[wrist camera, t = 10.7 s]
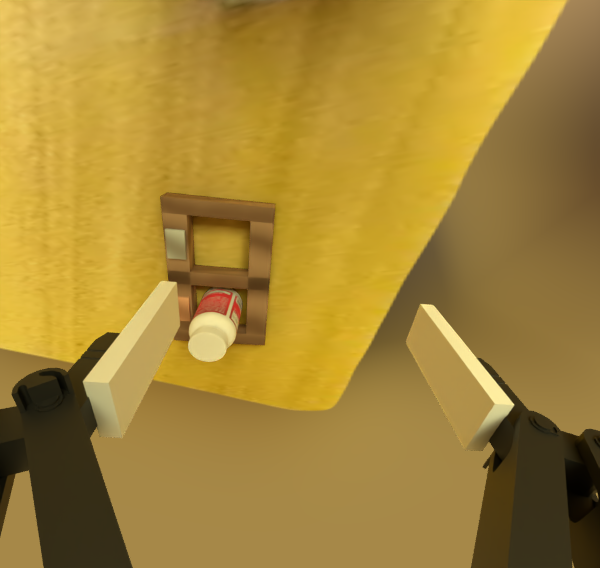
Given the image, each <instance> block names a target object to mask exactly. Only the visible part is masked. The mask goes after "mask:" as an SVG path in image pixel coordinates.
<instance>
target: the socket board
mask: <svg viewBox="0 0 600 568" xmlns="http://www.w3.org/2000/svg"><path fill="white" fill-rule="evenodd" d="M160 199H161V209H162V219H163V229H164V239H165V249H166V259H167V269H168V280H169V282H177V292H178V304H179V317H180V327H179V329H178V331H177V333H176V335H175V337H174V340H182V341H189V340H190V336H189V326H190V324H191V321H192V319H193V317H194V315H195V313H196V311H197V297H196V285H198V286H211V287H224V288H238V289H248V297H247V323H246V325H244V324H238V329H237V334H236V338H235V340H234V342H233V343H235V344H252V345H265V334H266V321H267V307H268V294H269V281H270V268H271V254H272V241H273V228H274V215H275V204H272V203H262V202H253V201H243V200H234V199H224V198H214V197H205V196H195V195H186V194H176V193H166V194H164V195H162V196H160ZM192 216H201V217H212V218H222V219H232V220H242V221H250V246H249V269H238V268H226V267H214V266H201V265H195V259H194V240H193V221H192Z"/></svg>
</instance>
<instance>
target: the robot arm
mask: <svg viewBox="0 0 600 568" xmlns="http://www.w3.org/2000/svg"><path fill="white" fill-rule="evenodd" d="M179 327H180V317H179V304H178V292H177V282H169V281H161V282H160V283H159V284H158V286H157V287H156V288H155V289H154V291H153V292H152V293H151V295H150V296H149V297H148V298H147V300H146V301H145V302H144V304H143V305H142V306H141V307H140V309H139V310H138V311H137V313H136V314H135V315H134V316H133V318H132V319H131V320H130V321H129V323H128V324H127V325H126V327H125V328H124V329H123V330H122V332H121V333H109V332H107V333H106V334H104V335H103V336H101V337H99V338H98V339H96V340H95V341H94V342H93V343H92V345H91V346H90V347H89V348H88V349H87V351H85V353H84V354H83V355H82V356H81V358H80V359H79V360H78V361H77V362H76V363H75V364H74V365H73V366H72V368H71V369H70V370H69V371H68V372H66V371H65V370H63V369H60V368H47V369H43V370H39V371H36V372H34V373H32V374H29V375H27V376H26V377H25V378H23V379H21V380H20V381H19V382H18V383H17V384H16V385H15V386H14V388H13V390H12V396H13V399H14V401H15V402H16V405H17V406H16V407H10V408H5V409H0V535H1V531H2V527H3V523H4V519H5V515H6V511H7V506H8V503H9V499H10V494H11V490H12V486H13V482H14V478H15V474H16V473H20V472H23V471H28V470H29V472H30V478H31V486H32V492H33V499H34V505H35V512H36V519H37V526H38V532H39V538H40V546H41V553H42V559H43V566H44V568H133V567H132V564H131V561H130V558H129V555H128V552H127V550H126V546H125V543H124V540H123V537H122V534H121V531H120V528H119V525H118V522H117V519H116V516H115V513H114V510H113V507H112V504H111V501H110V498H109V495H108V492H107V489H106V486H105V483H104V480H103V476H102V473H101V471H100V467H99V464H98V461H97V458H96V455H95V452H94V449H93V446H92V443H91V440H90V437H91V435H92V433H93V432H94V430H95V429H96V427H97V429H98V432H99V436H100V437H114V438H115V437H116V438H122V437H123V436H124V434H125V432H126V430H127V428H128V426H129V424H130V422H131V420H132V418H133V416H134V414H135V412H136V411H137V409H138V406H139V405H140V403H141V401H142V399H143V397H144V395H145V393H146V391H147V389H148V387H149V385H150V383H151V381H152V379H153V377H154V376H155V374H156V372H157V370H158V368H159V366H160V364H161V362H162V360H163V358H164V356H165V354H166V352H167V350H168V348H169V346H170V344H171V342H172V341H173V339H174V337H175V335H176V333H177V331H178V329H179ZM406 344H407V346H408V348H409V350H410V351H411V353H412V355H413V357H414V359H415V361H416V362H417V364H418V366H419V368H420V370H421V371H422V373H423V375H424V377H425V379H426V381H427V382H428V384H429V386H430V388H431V390H432V392H433V393H434V395H435V397H436V399H437V401H438V403H439V404H440V406H441V408H442V410H443V411H444V413H445V415H446V417H447V419H448V421H449V422H450V424H451V426H452V428H453V429H454V432H455V433H456V435H457V437H458V439H459V441H460V443H461V444H462V446H463V448H464V450H471V451H473V450H474V451H483V449H484V448H485V446H486V445H487V443H488V442H490V443H491V445H492V447H493V448H494V451H493V453H492V454H491V455H490V457H489V458H488V459H487V461H486V462H485V464H484V466H483V468H485V469H486V468H487V466H488V465H489V468H488V474H487V480H486V486H485V491H484V497H483V502H482V508H481V514H480V520H479V526H478V531H477V537H476V542H475V549H474V554H473V559H472V566H471V568H572V561H573V564H574V567H575V568H600V431H597V430H593V429H586V430H585V431H584V432H583V433H582V434H581V435H580V436H576V435H573V434H570V433H566V432H563V431H560V429H559V428H558V427H557V426H556V425H555V424H554V423H553V422H552V421H551V420H550V419H548V418H547V417H545V416H543V415H541V414H539V413H537V412H534V411H529V410H528V409H527V408H526V407H525V406H524V404H523V403H522V402H521V401H520V400H519V398H517V396H516V395H515V394H514V393H513V392H512V390H511V389H510V388H509V387H508V385H506V384H505V382H504V381H503V380H502V378H501V377H499V375H498V374H497V373H496V371H495V370H494V369H493V368H492V367H491V366H490V365H489V364H488V363H486V362H485V361H484V360H482V359H481V358H476V357H475V356H474V355H473V353H472V352H471V351H470V350H469V348H468V347H467V346H466V345H465V343H464V342H463V341H462V340H461V339H460V337H459V336H458V335H457V334H456V333H455V331H454V330H453V329H452V328H451V326H450V325H449V324H448V323H447V321H446V320H445V319H444V318H443V316H442V315H441V314H440V313H439V311H438V310H437V309H436V308H435V307H434V306H433V305H426V304H420V306H419V309H418V311H417V314H416V317H415V319H414V322H413V324H412V327H411V330H410V332H409V335H408V337H407V340H406ZM596 493H598V497H599V498H597V496H596Z"/></svg>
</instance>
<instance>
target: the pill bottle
mask: <svg viewBox="0 0 600 568" xmlns="http://www.w3.org/2000/svg"><path fill="white" fill-rule="evenodd" d="M241 311H242V299H241V297H240V295H239V294H238V293H237V292H236V291H235V290H233V289H231V288H224V287H213V288H211V289H209V290H208V291H207V292H206V293H205V294H204V296H203V298H202V300H201V302H200V304H199V306H198V308H197V311H196V313H195V315H194V317H193V319H192V321H191V324H190V326H189V336H190V340H189V343H188V349H189V352H190V353H191V355H192V356H194V357H195V358H196V359H198V360H201V361H205V362H213V361H217V360H219V359H221V358H222V357H223V356H224V355H225V353H226V350H227V348H228V347H230V346H231V345H232V343H233V342H234V340H235V338H236V334H237V329H238V324H239V320H240V315H241Z"/></svg>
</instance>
